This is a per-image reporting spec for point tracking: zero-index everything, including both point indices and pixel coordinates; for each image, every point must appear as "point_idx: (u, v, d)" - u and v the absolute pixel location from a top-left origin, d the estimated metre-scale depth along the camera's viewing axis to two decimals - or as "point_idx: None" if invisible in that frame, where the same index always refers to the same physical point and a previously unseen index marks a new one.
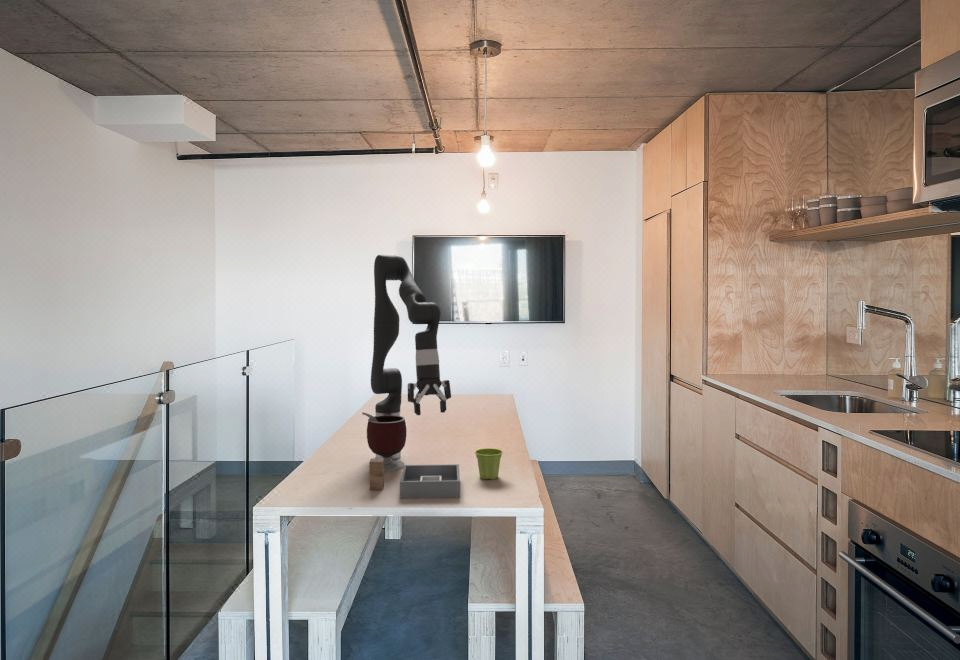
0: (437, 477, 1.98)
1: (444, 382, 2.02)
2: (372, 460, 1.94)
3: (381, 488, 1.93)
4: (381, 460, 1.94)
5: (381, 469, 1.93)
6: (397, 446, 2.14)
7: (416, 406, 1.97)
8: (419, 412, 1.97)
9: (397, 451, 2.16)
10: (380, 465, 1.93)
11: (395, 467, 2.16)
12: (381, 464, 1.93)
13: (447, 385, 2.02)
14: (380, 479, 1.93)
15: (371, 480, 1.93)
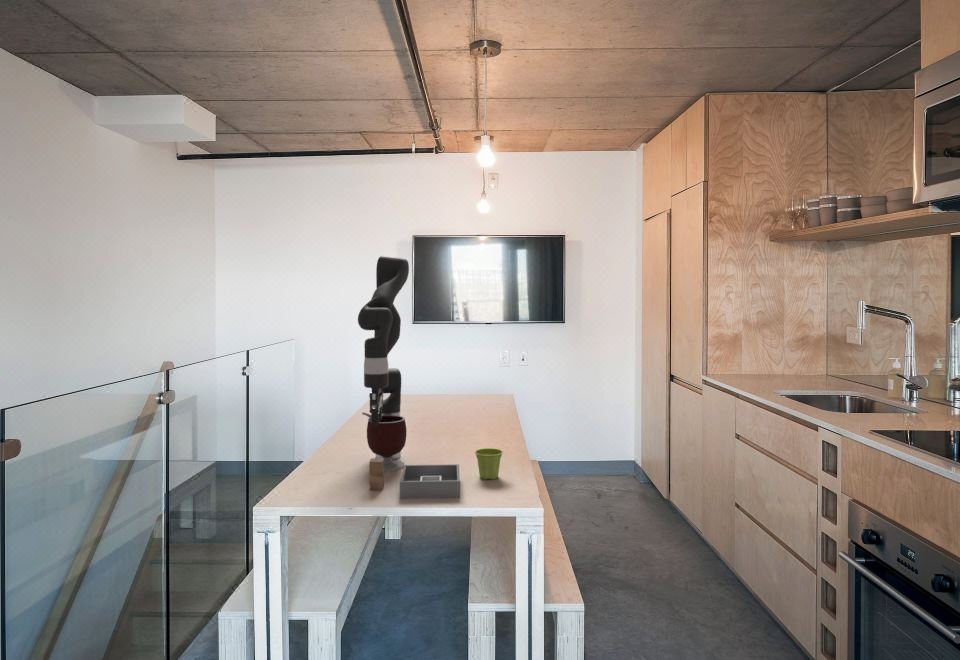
0: (437, 477, 1.98)
1: None
2: (372, 460, 1.94)
3: (381, 488, 1.93)
4: (381, 460, 1.94)
5: (381, 469, 1.93)
6: (397, 446, 2.14)
7: None
8: None
9: (397, 451, 2.16)
10: (380, 465, 1.93)
11: (395, 467, 2.16)
12: (381, 464, 1.93)
13: None
14: (380, 479, 1.93)
15: (371, 480, 1.93)
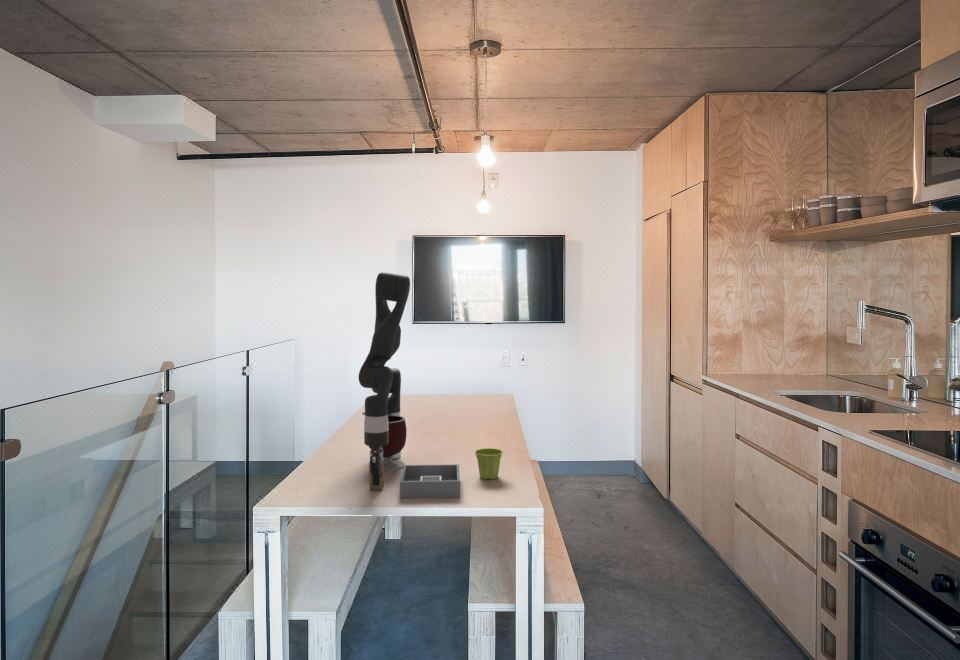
0: (437, 477, 1.98)
1: None
2: None
3: (381, 488, 1.93)
4: None
5: (381, 469, 1.93)
6: (397, 446, 2.14)
7: None
8: None
9: (397, 451, 2.16)
10: None
11: (395, 467, 2.16)
12: (381, 464, 1.93)
13: None
14: (380, 479, 1.93)
15: (371, 480, 1.93)
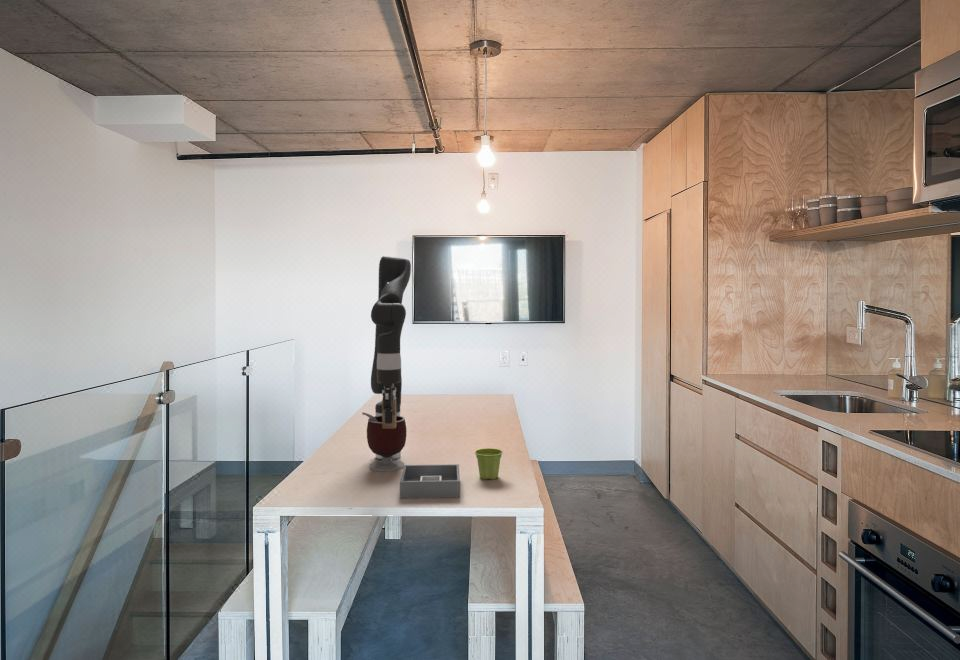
0: (437, 477, 1.98)
1: None
2: None
3: (394, 426, 1.92)
4: (394, 398, 1.93)
5: (394, 407, 1.91)
6: (397, 446, 2.14)
7: None
8: None
9: (397, 451, 2.16)
10: None
11: (395, 467, 2.16)
12: (394, 402, 1.91)
13: None
14: (393, 417, 1.92)
15: (384, 418, 1.91)
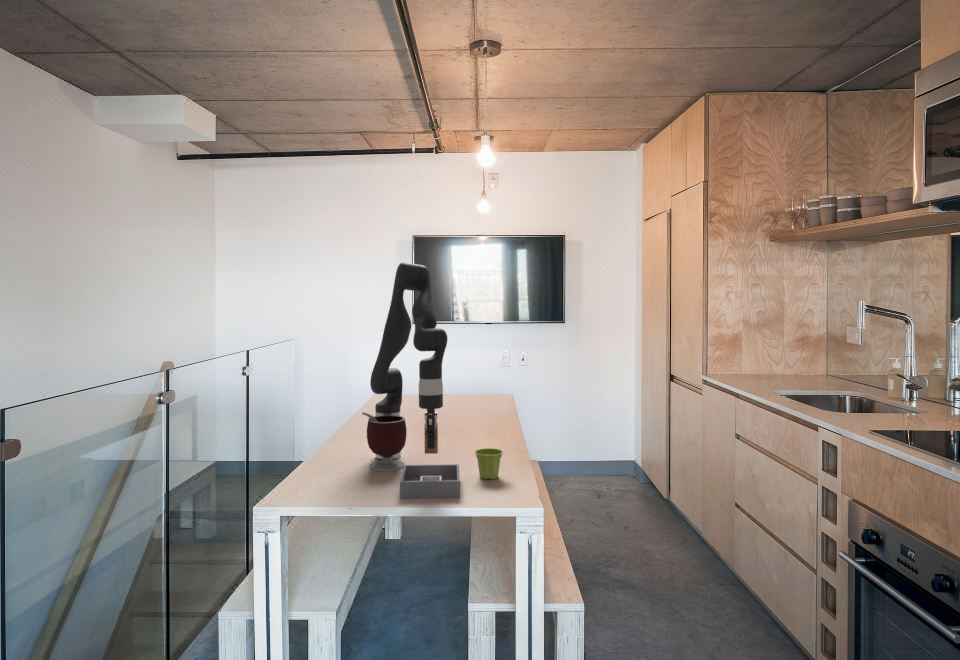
0: (437, 477, 1.98)
1: None
2: None
3: (436, 451, 1.92)
4: (436, 423, 1.93)
5: (436, 432, 1.92)
6: (397, 446, 2.14)
7: None
8: None
9: (397, 451, 2.16)
10: None
11: (395, 467, 2.16)
12: (436, 427, 1.92)
13: (426, 423, 1.88)
14: (435, 442, 1.92)
15: (426, 443, 1.92)
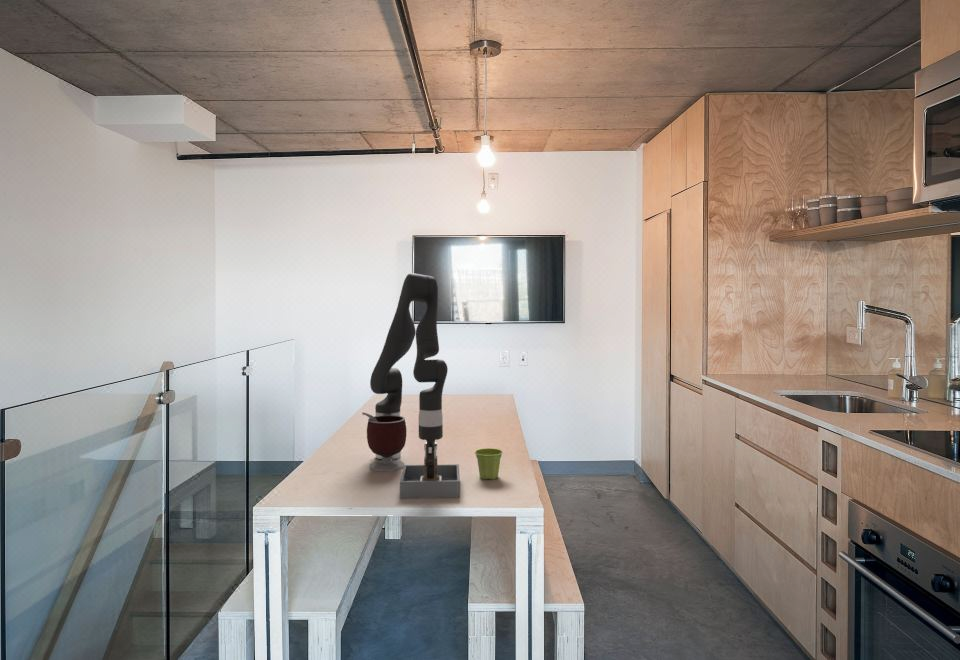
0: (437, 477, 1.98)
1: None
2: None
3: None
4: None
5: (436, 466, 1.93)
6: (397, 446, 2.14)
7: None
8: None
9: (397, 451, 2.16)
10: (435, 462, 1.92)
11: (395, 467, 2.16)
12: (436, 461, 1.92)
13: (426, 452, 1.88)
14: (435, 476, 1.93)
15: (426, 477, 1.93)
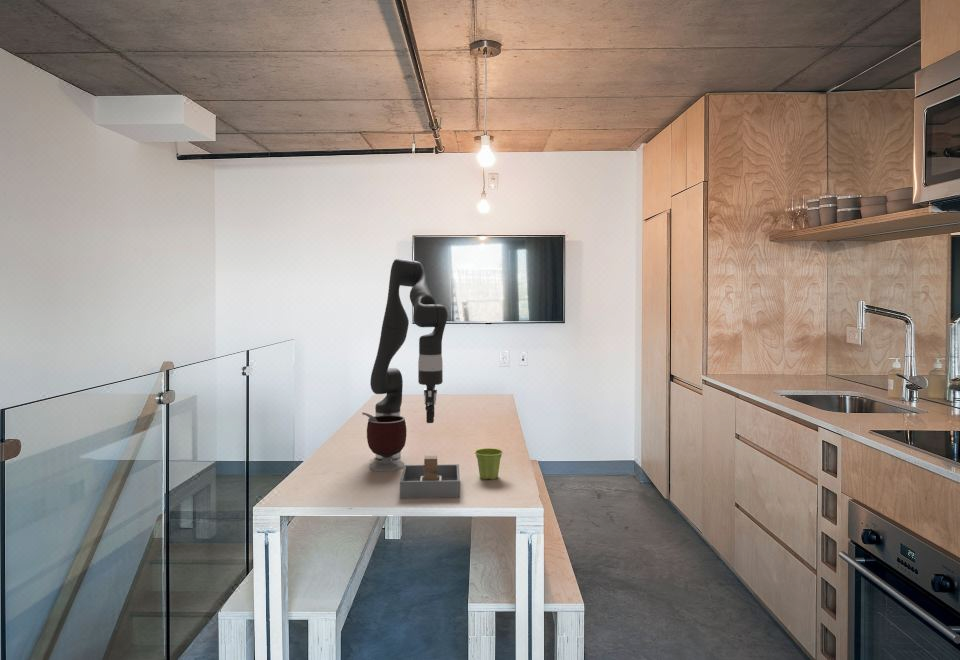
0: (437, 477, 1.98)
1: None
2: (426, 457, 1.94)
3: None
4: (435, 457, 1.94)
5: (436, 466, 1.93)
6: (397, 446, 2.14)
7: None
8: None
9: (397, 451, 2.16)
10: (435, 462, 1.92)
11: (395, 467, 2.16)
12: (436, 461, 1.92)
13: (426, 395, 1.87)
14: (435, 476, 1.93)
15: (426, 477, 1.93)
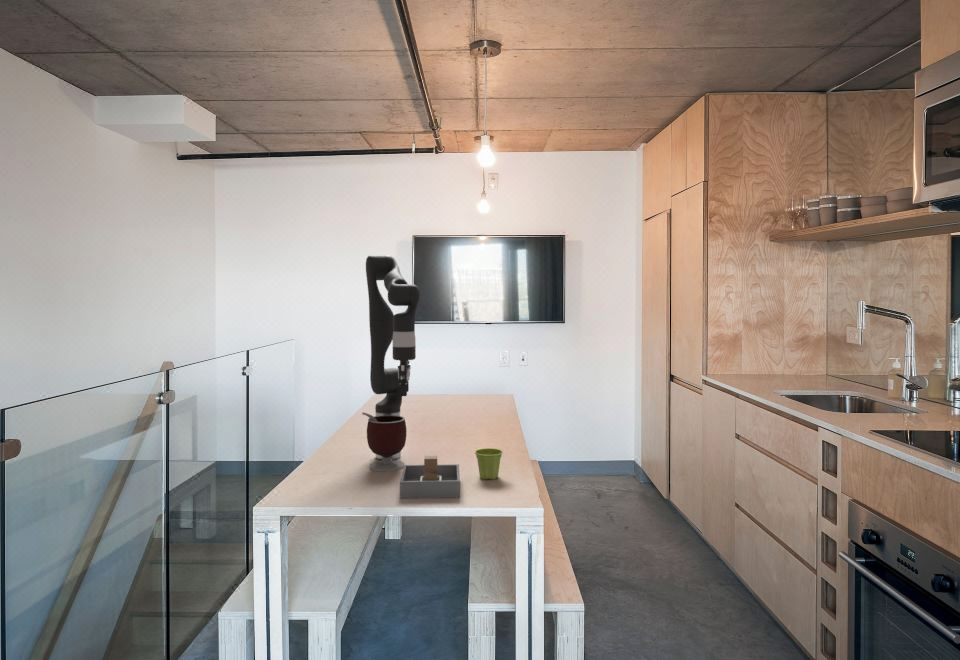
0: (437, 477, 1.98)
1: None
2: (426, 457, 1.94)
3: None
4: (435, 457, 1.94)
5: (436, 466, 1.93)
6: (397, 446, 2.14)
7: None
8: None
9: (397, 451, 2.16)
10: (435, 462, 1.92)
11: (395, 467, 2.16)
12: (436, 461, 1.92)
13: (399, 370, 1.98)
14: (435, 476, 1.93)
15: (426, 477, 1.93)
